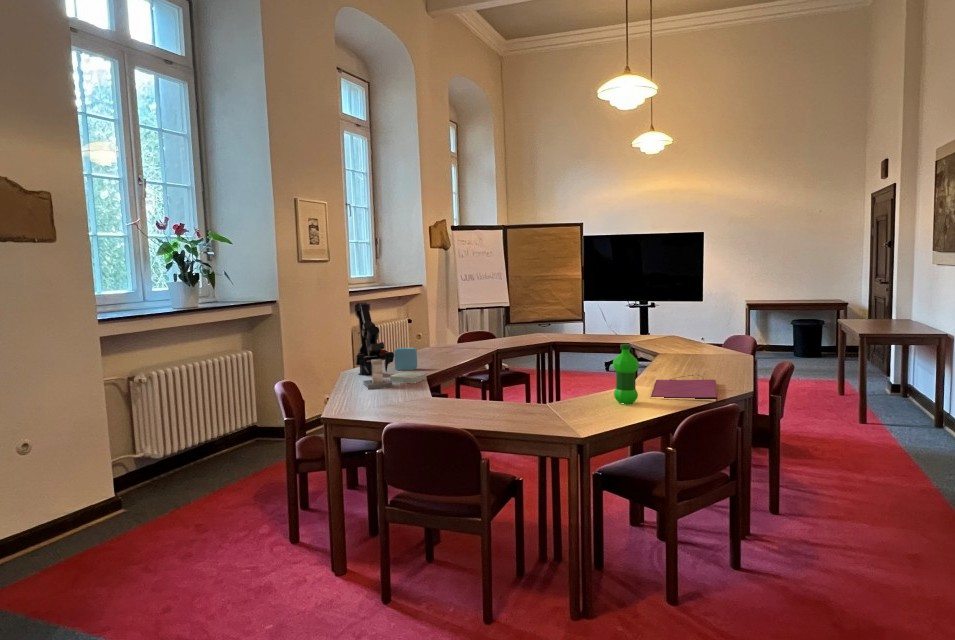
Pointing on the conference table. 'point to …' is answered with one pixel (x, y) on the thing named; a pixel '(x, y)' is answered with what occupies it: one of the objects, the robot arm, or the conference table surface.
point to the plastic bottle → (625, 375)
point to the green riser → (408, 377)
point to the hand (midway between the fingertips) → (377, 372)
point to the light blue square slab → (405, 358)
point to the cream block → (377, 371)
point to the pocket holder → (377, 384)
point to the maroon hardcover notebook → (685, 389)
